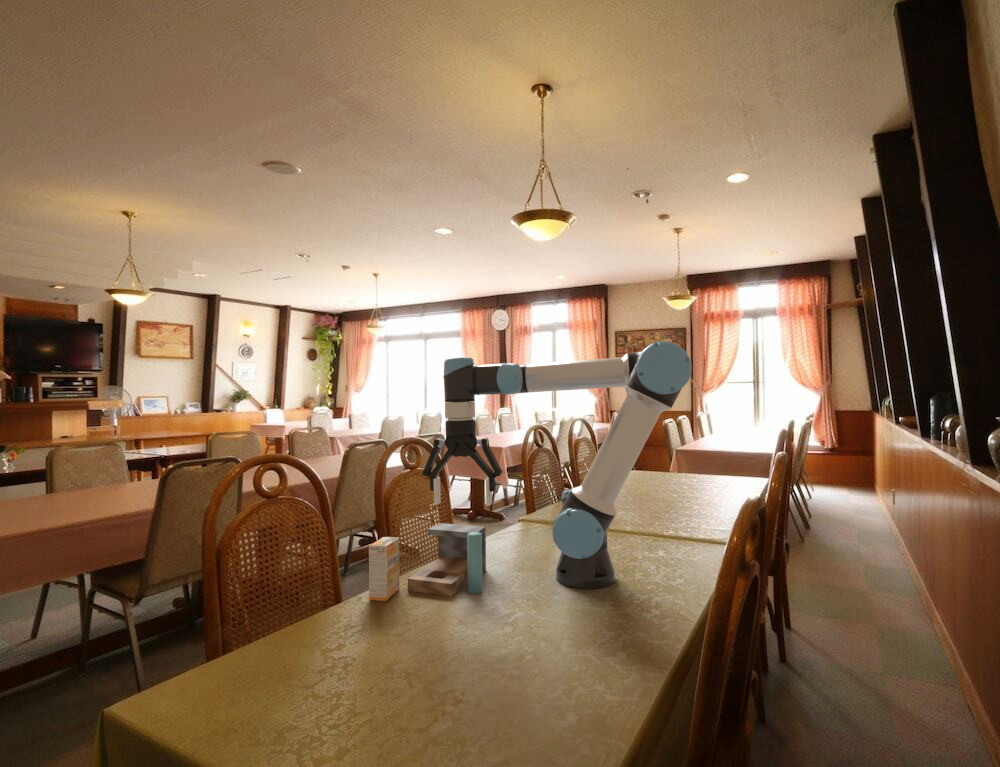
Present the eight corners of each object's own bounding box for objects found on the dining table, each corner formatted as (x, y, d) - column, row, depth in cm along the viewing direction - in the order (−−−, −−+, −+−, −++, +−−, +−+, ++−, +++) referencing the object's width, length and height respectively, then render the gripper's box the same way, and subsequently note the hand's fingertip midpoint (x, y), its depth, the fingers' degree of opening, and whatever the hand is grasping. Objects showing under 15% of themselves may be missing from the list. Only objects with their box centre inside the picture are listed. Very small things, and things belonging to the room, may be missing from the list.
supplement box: (387, 601, 129) (386, 546, 129) (368, 600, 130) (367, 545, 130) (400, 589, 137) (400, 536, 137) (382, 588, 138) (382, 535, 138)
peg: (484, 589, 136) (483, 532, 136) (479, 594, 132) (478, 536, 133) (471, 587, 137) (470, 531, 137) (465, 592, 134) (464, 535, 134)
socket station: (486, 570, 150) (485, 526, 150) (455, 596, 131) (455, 546, 131) (440, 565, 155) (439, 523, 155) (404, 590, 136) (403, 541, 136)
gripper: (512, 417, 138) (515, 501, 137) (419, 419, 144) (422, 500, 143) (505, 419, 130) (508, 508, 130) (408, 421, 136) (410, 506, 136)
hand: (463, 504), depth 137 cm, fingers open, 13 cm apart
